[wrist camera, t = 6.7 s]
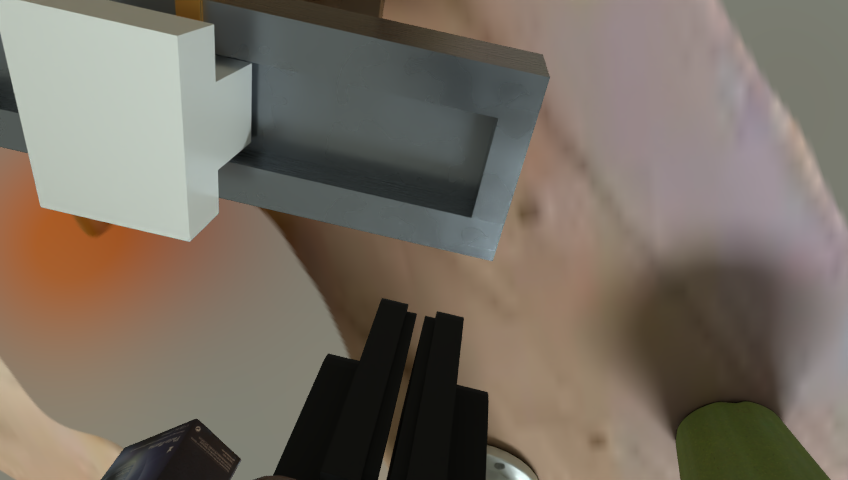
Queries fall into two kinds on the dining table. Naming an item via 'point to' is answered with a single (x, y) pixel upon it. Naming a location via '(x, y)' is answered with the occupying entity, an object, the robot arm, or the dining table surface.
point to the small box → (176, 457)
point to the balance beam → (366, 119)
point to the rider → (125, 111)
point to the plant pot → (741, 446)
